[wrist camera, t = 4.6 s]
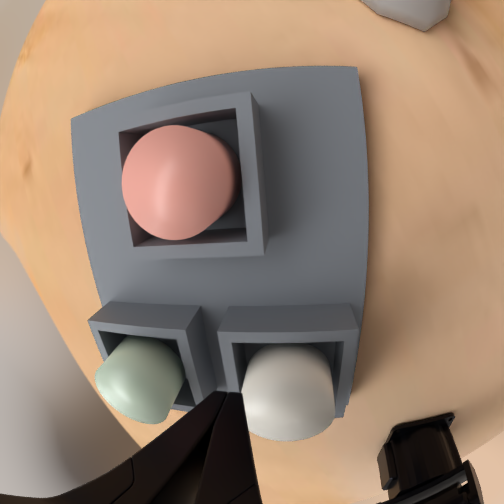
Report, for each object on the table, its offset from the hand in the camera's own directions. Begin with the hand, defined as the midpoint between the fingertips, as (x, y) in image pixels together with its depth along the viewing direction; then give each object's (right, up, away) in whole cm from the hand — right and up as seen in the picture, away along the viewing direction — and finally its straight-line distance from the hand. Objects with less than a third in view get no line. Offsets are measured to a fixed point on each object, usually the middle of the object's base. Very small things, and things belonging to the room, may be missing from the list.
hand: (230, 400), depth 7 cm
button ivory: (+3, -2, +6) cm, 7 cm away
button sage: (-5, -2, +8) cm, 10 cm away
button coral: (-2, +8, +5) cm, 10 cm away
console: (-1, +3, +8) cm, 9 cm away
